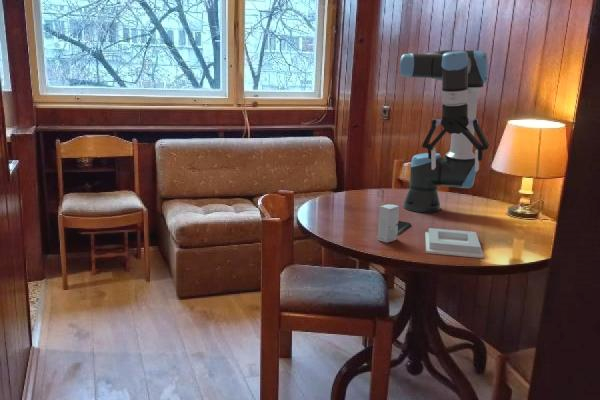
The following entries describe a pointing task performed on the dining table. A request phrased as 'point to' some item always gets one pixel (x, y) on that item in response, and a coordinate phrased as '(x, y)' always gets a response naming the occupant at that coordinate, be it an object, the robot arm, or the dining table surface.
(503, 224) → the dining table surface
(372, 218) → the dining table surface
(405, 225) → the phone
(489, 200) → the dining table surface
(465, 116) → the robot arm
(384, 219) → the skincare box
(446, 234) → the socket stand
